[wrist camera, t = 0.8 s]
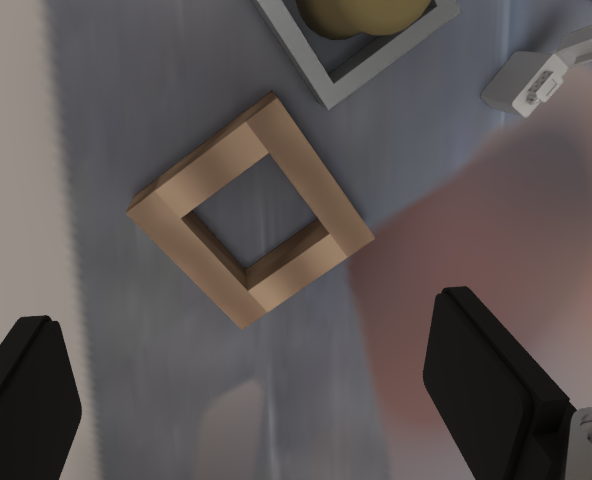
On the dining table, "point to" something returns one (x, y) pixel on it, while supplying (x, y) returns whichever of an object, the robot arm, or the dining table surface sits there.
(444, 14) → the grey square frame
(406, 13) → the cork
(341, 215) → the socket block
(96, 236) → the dining table surface
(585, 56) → the lighter
